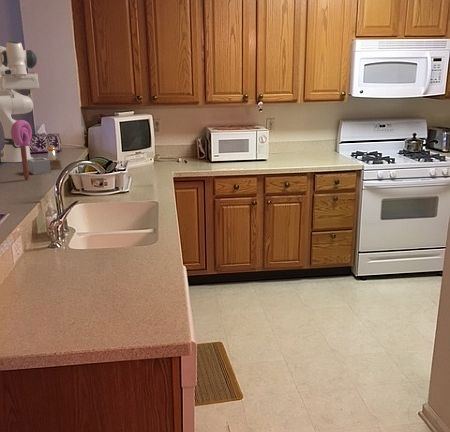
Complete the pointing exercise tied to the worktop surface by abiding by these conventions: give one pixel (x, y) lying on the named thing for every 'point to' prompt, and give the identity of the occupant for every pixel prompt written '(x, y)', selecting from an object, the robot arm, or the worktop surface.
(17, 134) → the lollipop
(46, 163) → the socket
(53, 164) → the mount
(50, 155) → the pin
